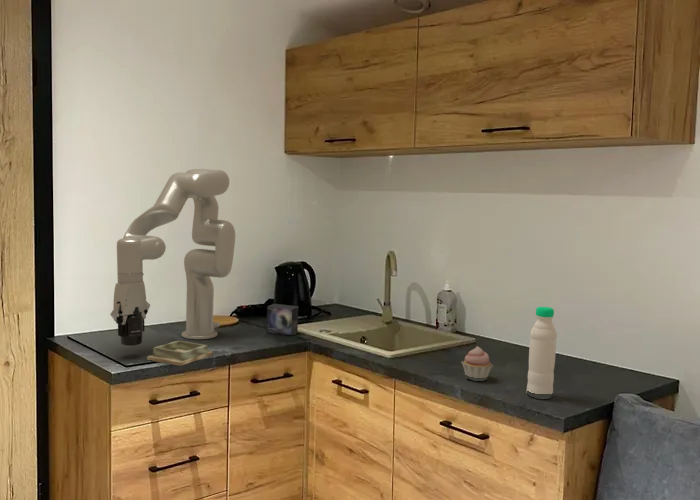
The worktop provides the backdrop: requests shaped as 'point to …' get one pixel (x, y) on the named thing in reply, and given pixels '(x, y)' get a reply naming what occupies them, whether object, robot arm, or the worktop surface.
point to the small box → (282, 319)
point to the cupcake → (477, 363)
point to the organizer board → (179, 353)
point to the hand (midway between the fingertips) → (131, 333)
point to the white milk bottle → (542, 353)
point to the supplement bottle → (133, 329)
